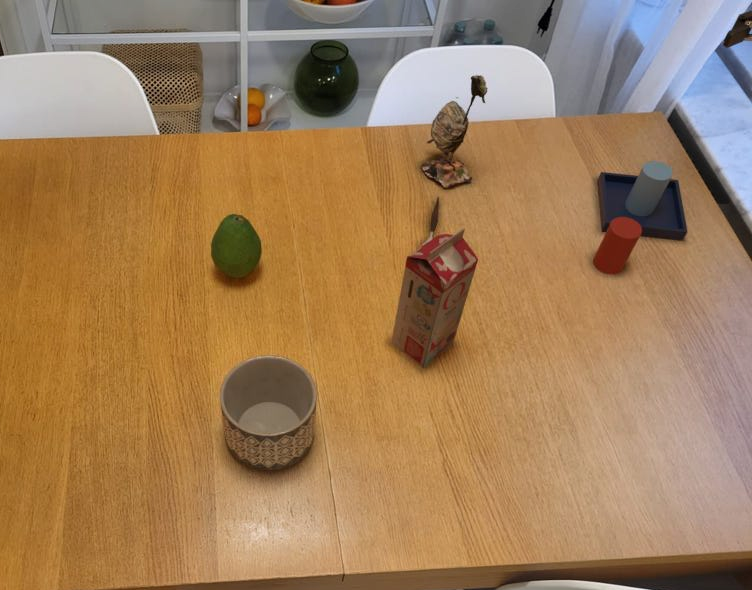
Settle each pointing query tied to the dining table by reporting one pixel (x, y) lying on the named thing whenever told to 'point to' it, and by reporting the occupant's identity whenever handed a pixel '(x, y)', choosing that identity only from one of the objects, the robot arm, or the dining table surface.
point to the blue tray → (659, 224)
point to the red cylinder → (617, 245)
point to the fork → (433, 221)
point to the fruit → (236, 247)
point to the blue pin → (648, 188)
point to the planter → (268, 411)
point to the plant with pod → (452, 138)
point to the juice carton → (433, 297)
